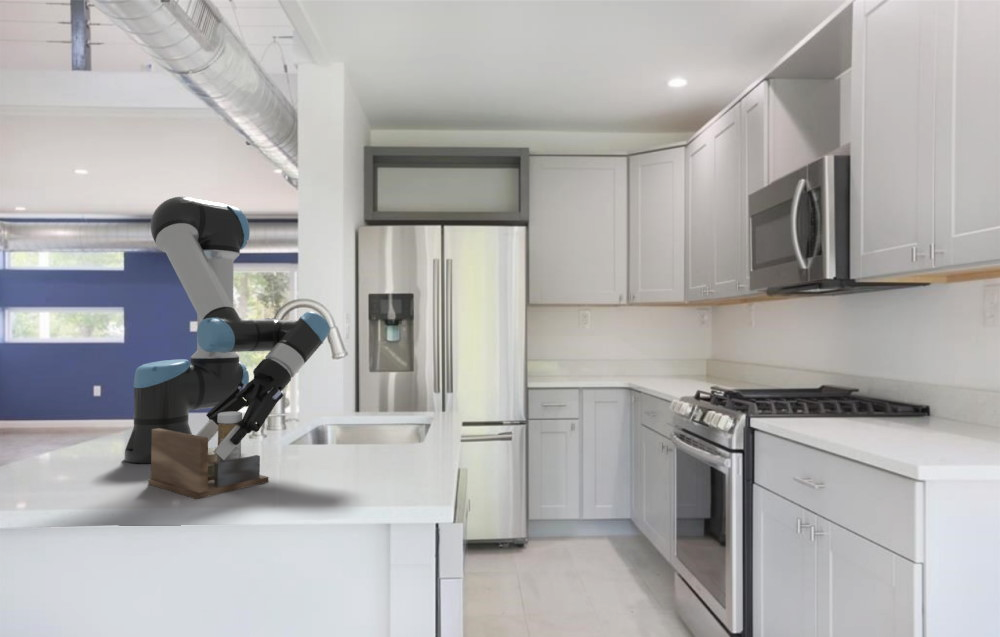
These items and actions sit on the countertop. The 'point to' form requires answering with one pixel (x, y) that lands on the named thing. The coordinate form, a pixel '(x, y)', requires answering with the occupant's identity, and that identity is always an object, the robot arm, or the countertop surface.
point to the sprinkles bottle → (224, 427)
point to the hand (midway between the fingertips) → (205, 452)
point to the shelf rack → (197, 466)
